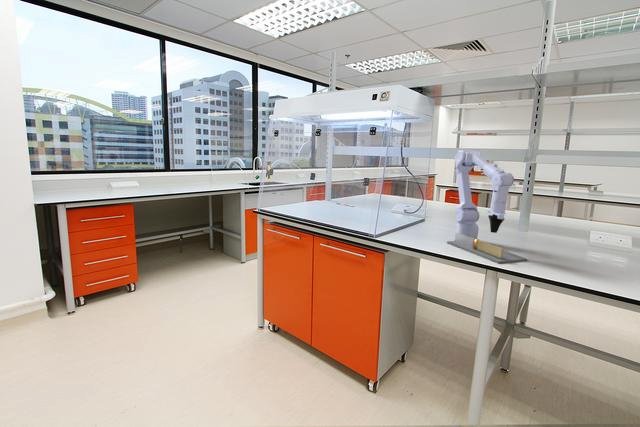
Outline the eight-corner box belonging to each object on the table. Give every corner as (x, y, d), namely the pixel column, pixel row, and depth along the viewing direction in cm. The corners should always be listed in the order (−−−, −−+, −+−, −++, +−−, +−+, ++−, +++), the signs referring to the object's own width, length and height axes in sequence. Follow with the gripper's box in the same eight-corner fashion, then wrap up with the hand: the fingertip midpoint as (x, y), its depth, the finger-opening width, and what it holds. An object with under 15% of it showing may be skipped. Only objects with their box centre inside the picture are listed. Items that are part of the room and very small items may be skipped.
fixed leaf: (456, 241, 149) (457, 232, 148) (474, 248, 139) (475, 238, 139) (454, 241, 149) (455, 232, 148) (472, 248, 139) (474, 238, 138)
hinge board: (473, 241, 154) (473, 239, 154) (527, 260, 129) (527, 258, 128) (446, 243, 149) (447, 241, 149) (498, 263, 123) (498, 261, 123)
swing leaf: (475, 247, 139) (477, 238, 138) (502, 258, 126) (504, 248, 125) (472, 247, 138) (474, 239, 138) (499, 258, 126) (501, 248, 125)
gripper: (485, 198, 143) (480, 227, 145) (492, 202, 129) (487, 235, 132) (502, 199, 141) (497, 229, 143) (511, 204, 127) (505, 237, 130)
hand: (493, 232), depth 137 cm, fingers closed
